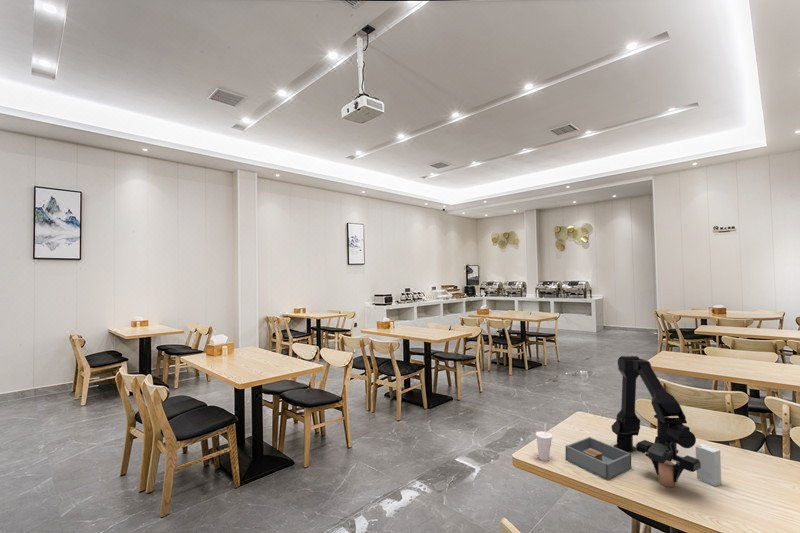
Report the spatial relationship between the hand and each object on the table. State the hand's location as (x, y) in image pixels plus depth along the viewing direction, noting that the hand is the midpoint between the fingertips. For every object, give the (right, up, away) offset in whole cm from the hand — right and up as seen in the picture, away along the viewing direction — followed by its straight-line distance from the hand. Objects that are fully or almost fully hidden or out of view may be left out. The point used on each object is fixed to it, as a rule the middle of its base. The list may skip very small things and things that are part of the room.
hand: (666, 478), depth 143 cm
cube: (-21, -1, +12) cm, 24 cm away
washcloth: (+23, -2, +20) cm, 31 cm away
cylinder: (0, -2, 0) cm, 2 cm away
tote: (-18, -2, +14) cm, 23 cm away
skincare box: (+16, -2, +1) cm, 16 cm away
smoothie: (-37, -2, +19) cm, 41 cm away
